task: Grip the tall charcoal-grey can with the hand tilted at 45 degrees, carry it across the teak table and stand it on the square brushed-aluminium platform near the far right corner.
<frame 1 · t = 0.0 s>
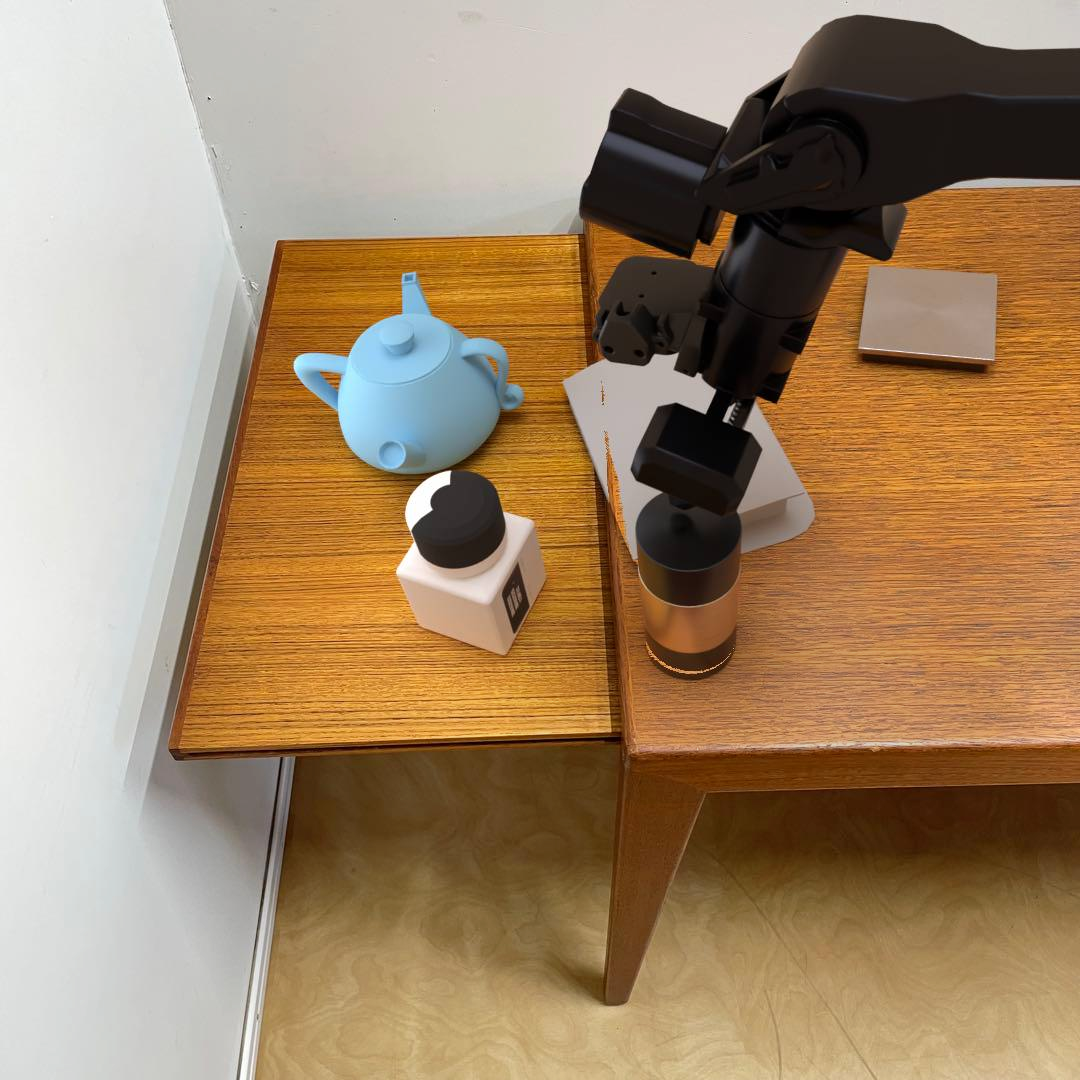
hand: (701, 452, 65), 14 cm above the table, tool pointing down, fingers open, 9 cm apart
container: (484, 603, 77), on the table
book: (683, 453, 84), on the table
platform: (925, 327, 88), on the table
teapot: (424, 428, 89), on the table
can: (690, 640, 73), on the table
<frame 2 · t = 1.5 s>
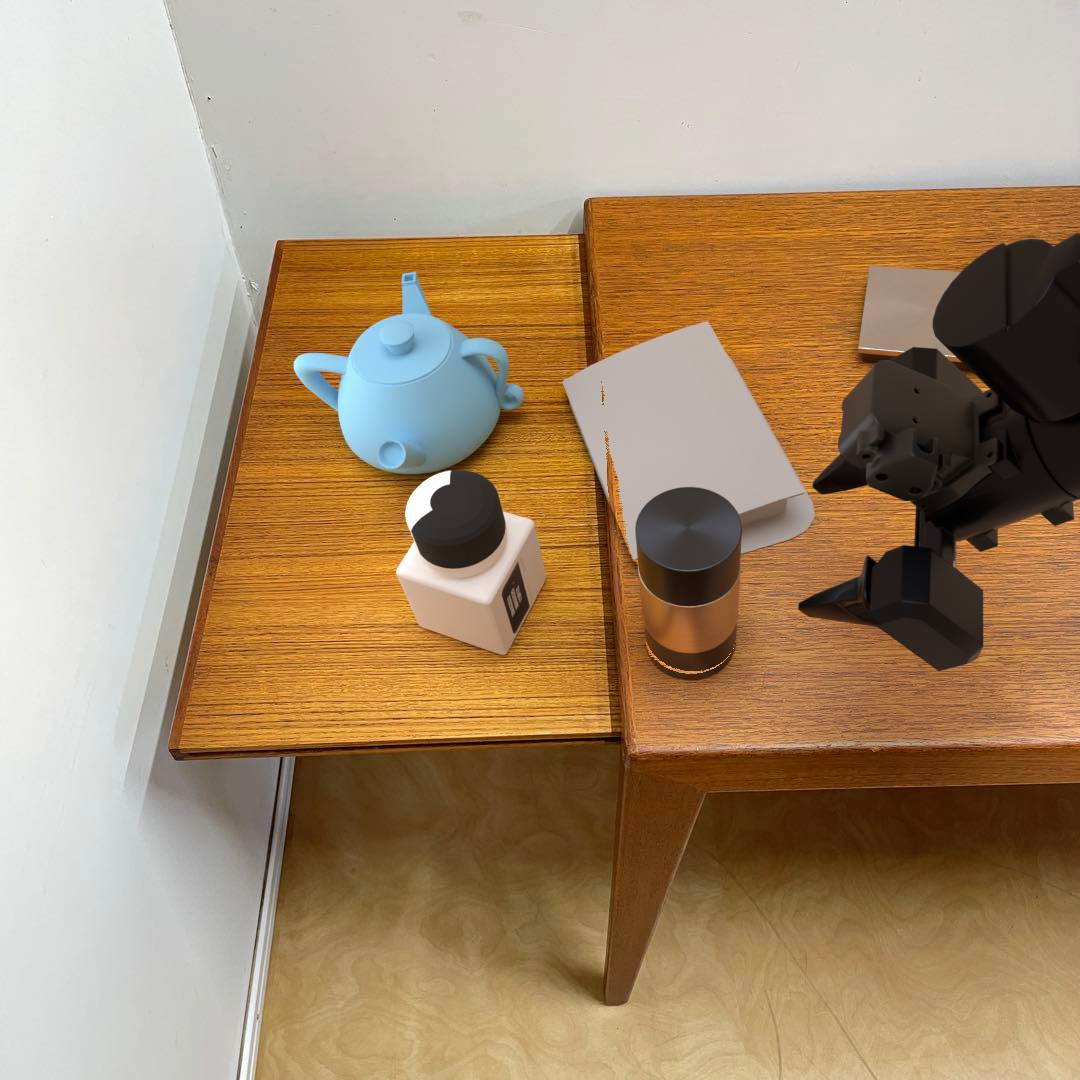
hand: (810, 547, 60), 13 cm above the table, tool tilted 45°, fingers open, 9 cm apart
nothing on the table moved.
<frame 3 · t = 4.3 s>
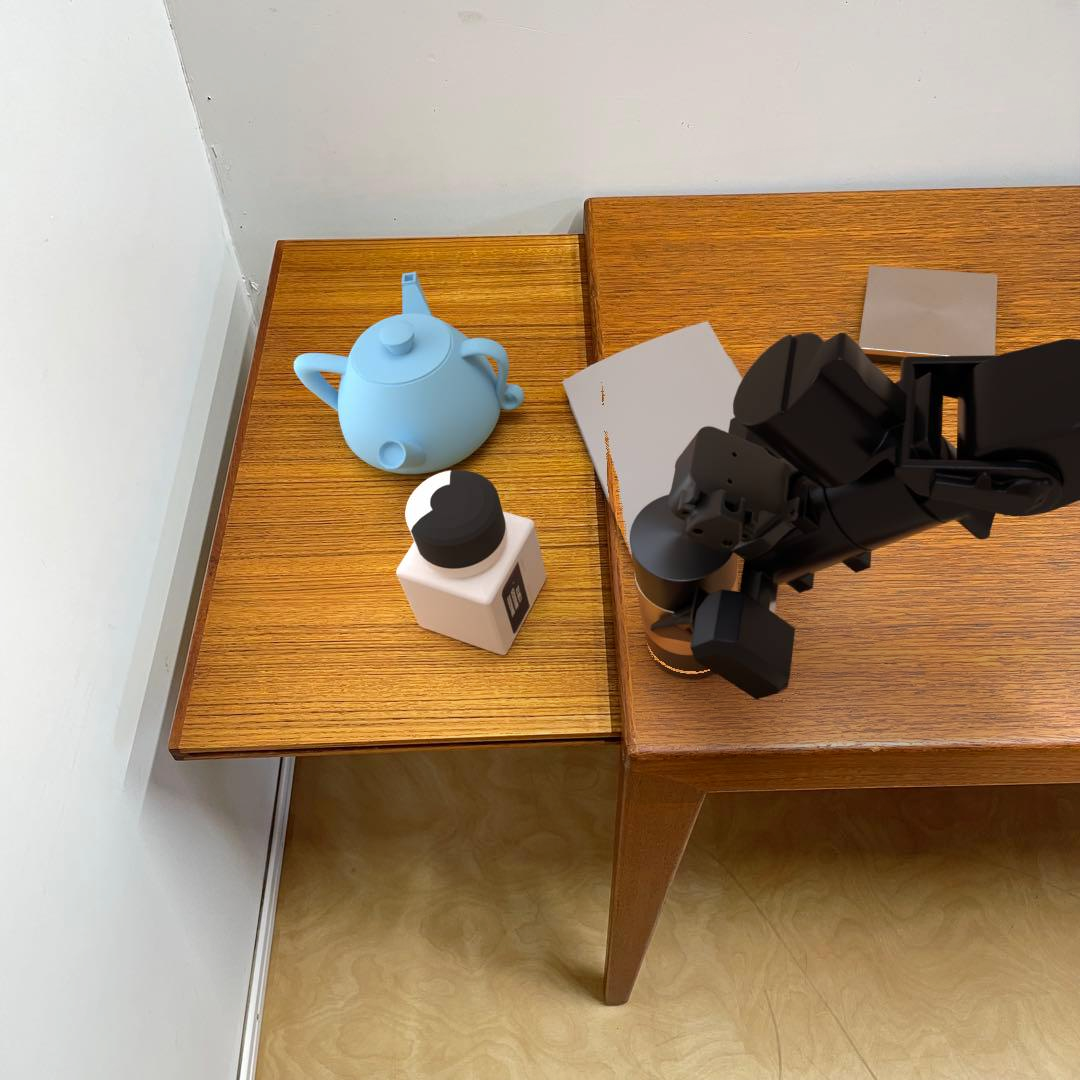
hand: (664, 583, 67), 7 cm above the table, tool tilted 45°, fingers closed on can, 7 cm apart
can: (691, 638, 73), on the table, touching gripper
everything else where it was.
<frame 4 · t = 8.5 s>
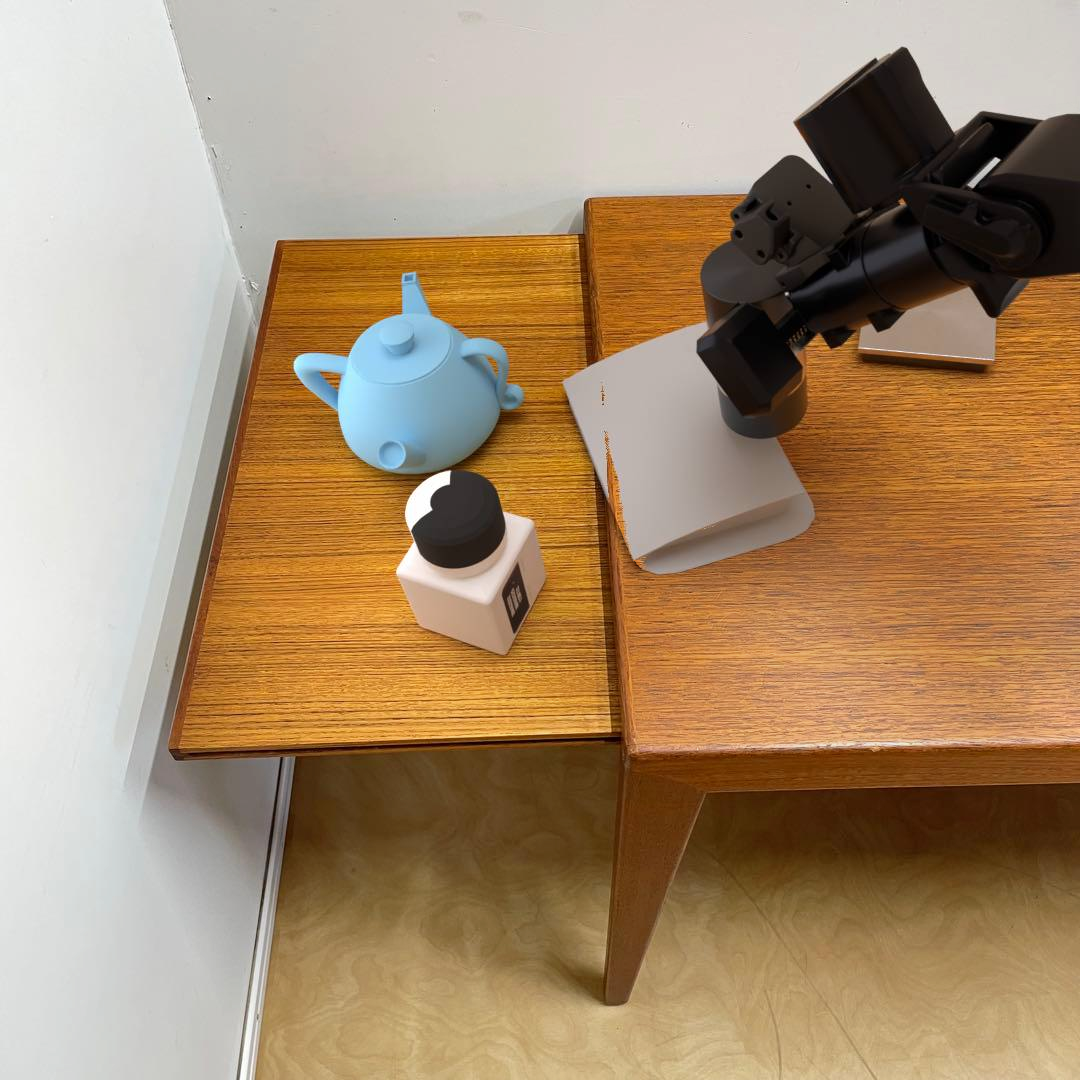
hand: (738, 331, 72), 14 cm above the table, tool tilted 45°, fingers closed on can, 7 cm apart
can: (763, 406, 77), point 6 cm above the table, tilted 7°, touching gripper
everything else where it was.
when the fingers open (10 cm above the table, at t = 12.8 s): can stays where it is, resting on platform.
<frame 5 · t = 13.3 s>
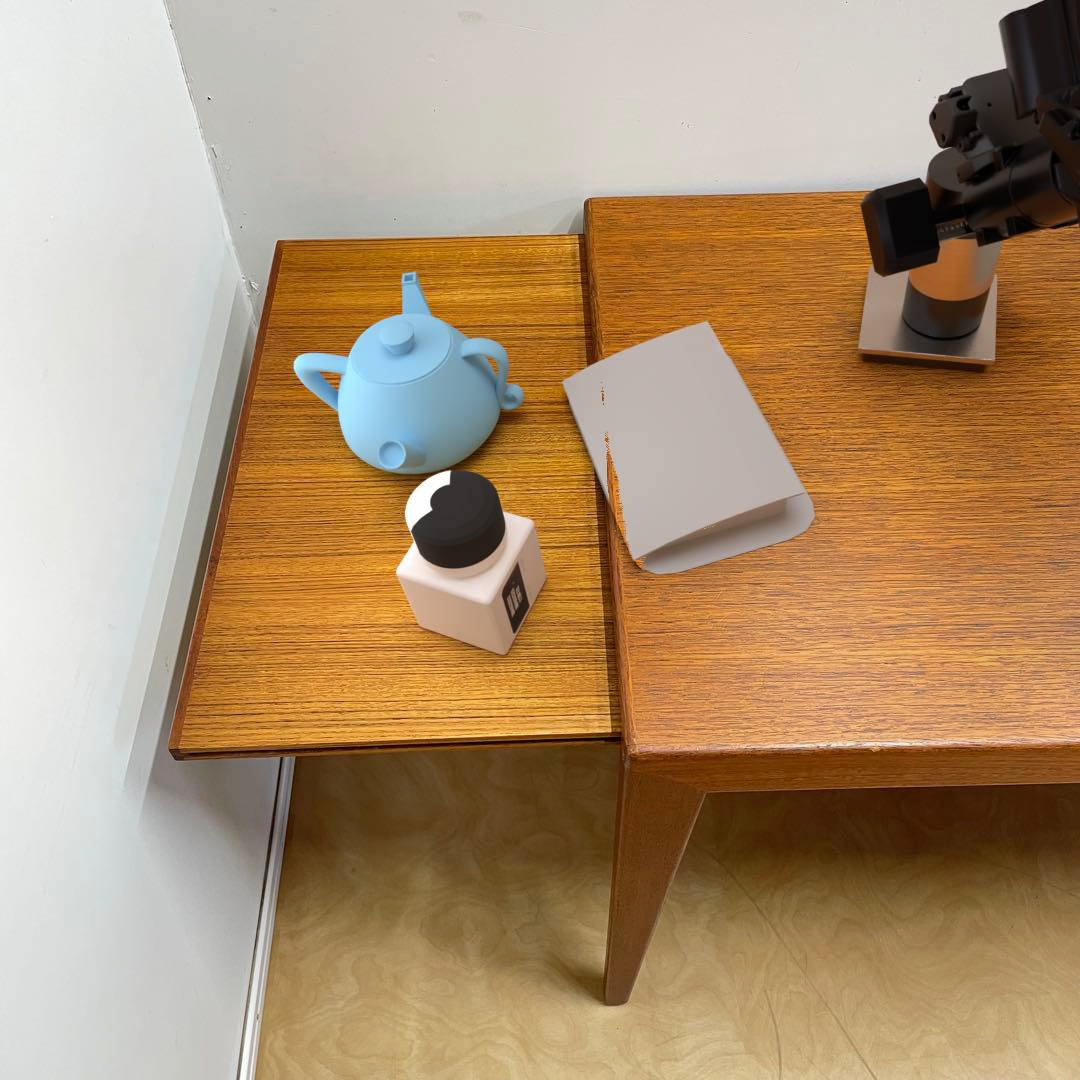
hand: (939, 224, 81), 10 cm above the table, tool tilted 45°, fingers open, 9 cm apart
can: (942, 312, 86), point 2 cm above the table, touching platform
everything else where it was.
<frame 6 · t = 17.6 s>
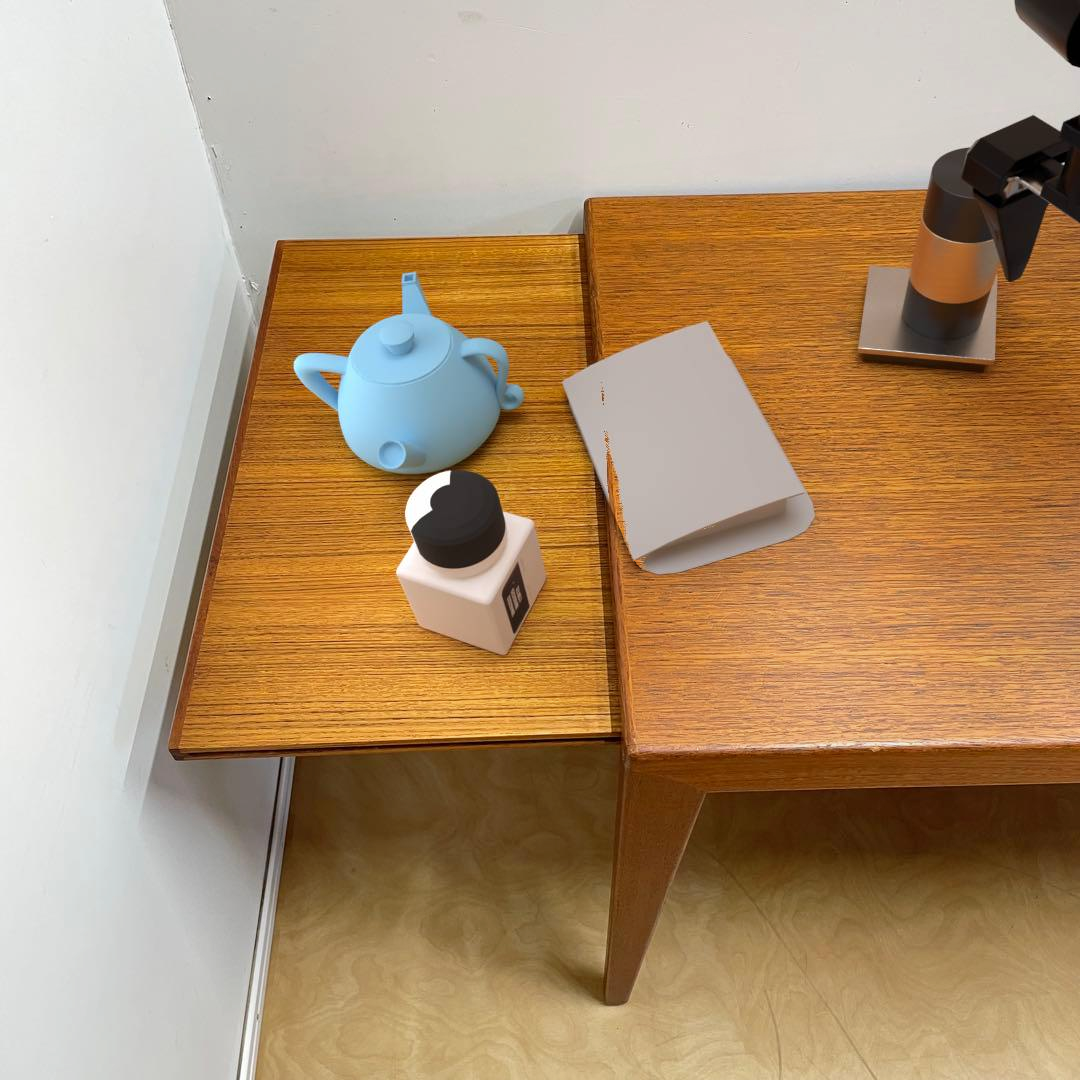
hand: (1060, 314, 70), 13 cm above the table, tool pointing down, fingers open, 9 cm apart
nothing on the table moved.
at the end: can inside the target area on the platform (1.1 cm from its centre), point 2.0 cm above the platform's base; can tilted 0°; the gripper is holding nothing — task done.
